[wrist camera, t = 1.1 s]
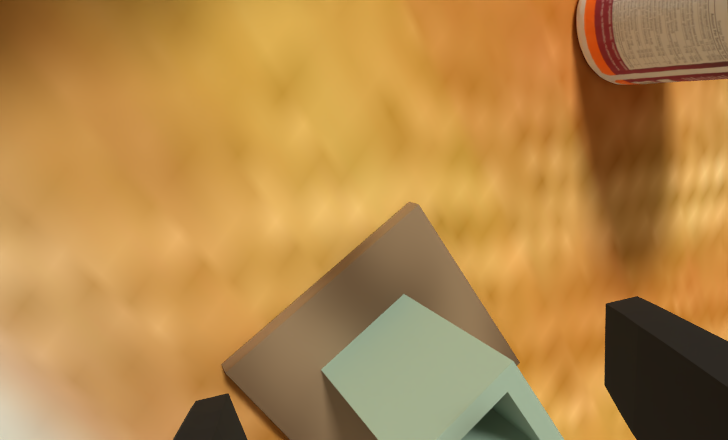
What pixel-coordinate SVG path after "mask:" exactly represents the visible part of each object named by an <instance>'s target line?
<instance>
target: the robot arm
mask: <svg viewBox="0 0 728 440" xmlns="http://www.w3.org/2000/svg"><path fill="white" fill-rule="evenodd" d="M605 387H606V388H607V390H608V392H609V394H610V396H611V397H612V399H613V401H614V403H615V404H616V406H617V408H618V410H619V412H620V413H621V415H622V417H623V418H624V420H625V422H626V423H627V425H628V427H629V428H630V430H631V432H632V433H633V435H634V436H635V438H636V439H637V440H728V341H726V340H724V339H722V338H720V337H718V336H716V335H714V334H712V333H710V332H708V331H706V330H704V329H702V328H700V327H698V326H696V325H694V324H692V323H690V322H688V321H686V320H684V319H683V318H681V317H679V316H677V315H675V314H673V313H671V312H669V311H667V310H665V309H663V308H661V307H659V306H657V305H655V304H653V303H650V302H648V301H646V300H644V299H642V298H640V297H637V296H636V297H632V298H628V299H624V300H620V301H615V302H611V303H607V304H606V325H605ZM173 440H247V438H246V435H245V433H244V430H243V428H242V426H241V423H240V421H239V418H238V416H237V413H236V411H235V408H234V406H233V404H232V401H231V399H230V396H229V394H224V395H219V396H215V397H211V398H207V399H202V400H198V401H196V402H195V403H194V405H193V406H192V408H191V409H190V411H189V413H188V414H187V416H186V418H185V419H184V421H183V423H182V425H181V426H180V428H179V430H178V432H177V433H176V435H175V437H174V439H173Z"/></svg>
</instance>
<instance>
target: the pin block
mask: <svg viewBox="0 0 728 440" xmlns="http://www.w3.org/2000/svg"><path fill="white" fill-rule="evenodd" d="M403 294H405V295H407V296H408V297H410V298H411V299H413V300H415V301H416V302H418V303H420V304H421V305H423V306H424V307H426V308H428V309H429V310H431V311H433V312H434V313H436V314H438V315H439V316H441V317H442V318H444V319H446V320H447V321H449V322H451V323H452V324H454V325H455V326H457V327H459V328H460V329H462V330H464V331H465V332H467V333H468V334H470V335H472V336H473V337H475V338H477V339H478V340H480V341H481V342H483V343H485V344H486V345H488V346H490V347H491V348H493V349H495V350H496V351H498V352H499V353H501V354H503V355H504V356H506V357H508V358H509V359H511V360H512V361H514V363H515V364H516V366H517V365H518V364H519V363H520V362H519V361H518V359H517V357H516V356H515V354H514V353H513V351H512V350H511V348H510V347H509V345H508V343H507V342H506V340H505V339H504V337H503V336H502V334H501V332H500V331H499V329H498V328H497V326H496V325H495V323H494V322H493V320H492V318H491V317H490V315H489V314H488V312H487V311H486V309H485V307H484V306H483V304H482V303H481V301H480V300H479V298H478V297H477V295H476V293H475V292H474V290H473V289H472V287H471V286H470V284H469V282H468V281H467V279H466V278H465V276H464V275H463V273H462V272H461V270H460V268H459V267H458V265H457V264H456V262H455V261H454V259H453V257H452V256H451V254H450V253H449V251H448V250H447V248H446V247H445V245H444V243H443V242H442V240H441V239H440V237H439V236H438V234H437V232H436V231H435V229H434V228H433V226H432V225H431V223H430V222H429V220H428V218H427V217H426V215H425V214H424V212H423V211H422V209H421V207H420V206H419V205H418V204H415V203H411V202H409V203H407V204H406V205H405V206H404V207H403V208H402V209H400V210H399V211H398V212H397V213H396V214H395V215H394V216H392V217H391V218H390V219H389V220H388V221H387V222H385V223H384V224H383V225H382V226H381V227H380V228H378V229H377V230H376V231H375V232H374V233H373V234H372V235H370V236H369V237H368V238H367V239H366V240H365V241H363V242H362V243H361V244H360V245H359V246H358V247H357V248H355V249H354V250H353V251H352V252H351V253H350V254H348V255H347V256H346V257H345V258H344V259H343V260H342V261H340V262H339V263H338V264H337V265H336V266H335V267H333V268H332V269H331V270H330V271H329V272H328V273H326V274H325V275H324V276H323V277H322V278H321V279H320V280H318V281H317V282H316V283H315V284H314V285H313V286H311V287H310V288H309V289H308V290H307V291H306V292H305V293H303V294H302V295H301V296H300V297H299V298H298V299H296V300H295V301H294V302H293V303H292V304H291V305H290V306H288V307H287V308H286V309H285V310H284V311H283V312H281V313H280V314H279V315H278V316H277V317H276V318H275V319H273V320H272V321H271V322H270V323H269V324H268V325H266V326H265V327H264V328H263V329H262V330H261V331H259V332H258V333H257V334H256V335H255V336H254V337H253V338H251V339H250V340H249V341H248V342H247V343H246V344H244V345H243V346H242V347H241V348H240V349H239V350H238V351H236V352H235V353H234V354H233V355H232V356H231V357H229V358H228V359H227V360H226V361H225V362H224V363H223V364H222V367H223V369H224V371H225V373H226V374H227V375H228V376H229V377H230V378H231V379H232V380H233V381H234V383H235V384H236V385H237V386H238V387H239V388H240V389H241V390H242V391H243V392H244V393H245V394H246V395H247V396H248V397H249V398H250V399H251V400H252V401H253V402H254V403H255V404H256V405H257V406H258V407H259V408H260V409H261V410H262V411H263V412H264V413H265V414H266V415H267V416H268V417H269V418H270V419H271V420H272V421H273V423H274V424H275V425H276V426H277V427H278V428H279V429H280V430H281V431H282V432H283V433H284V434H285V435H286V436H287V437H288V438H289V439H290V440H378V439H377V438H376V437H375V435H374V434H373V433H372V432H371V430H370V429H369V428H368V427H367V425H366V424H365V423H364V422H363V421H362V419H361V418H360V417H359V416H358V414H357V413H356V412H355V411H354V410H353V408H352V407H351V406H350V405H349V403H348V402H347V401H346V400H345V398H344V397H343V396H342V395H341V394H340V392H339V391H338V390H337V389H336V387H335V386H334V385H333V384H332V383H331V381H330V380H329V379H328V378H327V376H326V375H325V374H324V373H323V372H322V370H321V369H322V368H323V367H325V366H326V365H327V364H328V363H329V362H330V361H331V360H332V359H333V358H334V357H336V356H337V355H338V354H339V353H340V352H341V351H342V350H343V349H344V348H345V347H346V346H348V345H349V344H350V343H351V342H352V341H353V340H354V339H355V338H356V337H357V336H358V335H360V334H361V333H362V332H363V331H364V330H365V329H366V328H367V327H368V326H369V325H370V324H372V323H373V322H374V321H375V320H376V319H377V318H378V317H379V316H380V315H381V314H383V313H384V312H385V311H386V310H387V309H388V308H389V307H390V306H391V305H392V304H393V303H395V302H396V301H397V300H398V299H399V298H400V297H401V296H402V295H403Z"/></svg>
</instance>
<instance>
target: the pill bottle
mask: <svg viewBox="0 0 728 440" xmlns="http://www.w3.org/2000/svg"><path fill="white" fill-rule="evenodd" d="M576 25H577V35H578V40H579V44H580V47H581V50H582V53H583V55H584V57H585V59H586V61H587V63H588V64H589V66H590V67H591V68H592V69H593V70H594V71H595V73H596V74H598V75H599V76H600V77H601V78H603V79H605V80H607V81H609V82H611V83H615V84H622V85H632V84H649V83H663V82H679V81H698V80H715V79H728V0H579V3H578V7H577V16H576Z"/></svg>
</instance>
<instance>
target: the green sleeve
mask: <svg viewBox="0 0 728 440" xmlns="http://www.w3.org/2000/svg"><path fill="white" fill-rule="evenodd" d="M321 370H322V372H323V373H324V374H325V375H326V376H327V378H328V379H329V380H330V381H331V383H332V384H333V385H334V386H335V387H336V389H337V390H338V391H339V392H340V394H341V395H342V396H343V397H344V398H345V400H346V401H347V402H348V403H349V405H350V406H351V407H352V408H353V410H354V411H355V412H356V413H357V414H358V416H359V417H360V418H361V419H362V421H363V422H364V423H365V424H366V425H367V427H368V428H369V429H370V430H371V432H372V433H373V434H374V435H375V437H376V438H377V439H378V440H564V439H563V437H562V435H561V434H560V432H559V431H558V429H557V428H556V426H555V425H554V423H553V422H552V420H551V418H550V417H549V415H548V414H547V412H546V411H545V409H544V408H543V406H542V405H541V403H540V401H539V400H538V398H537V397H536V395H535V394H534V392H533V391H532V389H531V387H530V386H529V384H528V383H527V381H526V380H525V378H524V377H523V375H522V374H521V372H520V370H519V369H518V367H517V366H516V364H515V363H514V361H512V360H511V359H509V358H508V357H506V356H504V355H503V354H501V353H499V352H498V351H496V350H495V349H493V348H491V347H490V346H488V345H486V344H485V343H483V342H481V341H480V340H478V339H477V338H475V337H473V336H472V335H470V334H468V333H467V332H465V331H464V330H462V329H460V328H459V327H457V326H455V325H454V324H452V323H451V322H449V321H447V320H446V319H444V318H442V317H441V316H439V315H438V314H436V313H434V312H433V311H431V310H429V309H428V308H426V307H424V306H423V305H421V304H420V303H418V302H416V301H415V300H413V299H411V298H410V297H408V296H407V295H405V294H403V295H402V296H401V297H400V298H399V299H398V300H397V301H396V302H395V303H393V304H392V305H391V306H390V307H389V308H388V309H387V310H386V311H385V312H384V313H383V314H381V315H380V316H379V317H378V318H377V319H376V320H375V321H374V322H373V323H372V324H370V325H369V326H368V327H367V328H366V329H365V330H364V331H363V332H362V333H361V334H360V335H358V336H357V337H356V338H355V339H354V340H353V341H352V342H351V343H350V344H349V345H348V346H346V347H345V348H344V349H343V350H342V351H341V352H340V353H339V354H338V355H337V356H336V357H334V358H333V359H332V360H331V361H330V362H329V363H328V364H327V365H326V366H325V367H323V368H322V369H321Z"/></svg>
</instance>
